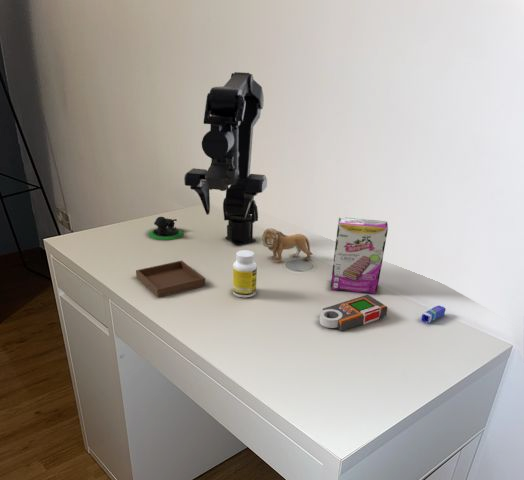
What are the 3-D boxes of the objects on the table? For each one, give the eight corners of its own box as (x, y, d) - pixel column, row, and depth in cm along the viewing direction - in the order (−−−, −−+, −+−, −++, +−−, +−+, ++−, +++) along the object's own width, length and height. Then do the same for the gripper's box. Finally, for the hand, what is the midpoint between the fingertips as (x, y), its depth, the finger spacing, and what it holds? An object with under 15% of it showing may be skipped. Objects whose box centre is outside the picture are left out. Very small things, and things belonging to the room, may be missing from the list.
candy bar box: (329, 290, 128) (337, 223, 119) (330, 281, 132) (337, 216, 123) (377, 295, 127) (388, 227, 118) (377, 286, 131) (387, 220, 122)
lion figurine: (265, 266, 138) (267, 233, 134) (257, 259, 143) (258, 226, 138) (316, 259, 144) (319, 226, 139) (307, 252, 148) (310, 220, 143)
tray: (182, 267, 136) (181, 260, 135) (205, 285, 128) (205, 278, 127) (136, 277, 130) (135, 270, 129) (157, 297, 122) (157, 289, 121)
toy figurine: (188, 229, 160) (187, 210, 156) (176, 241, 151) (175, 221, 148) (156, 226, 161) (155, 207, 158) (142, 237, 153) (140, 217, 150)
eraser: (420, 320, 117) (422, 312, 116) (436, 312, 120) (438, 304, 119) (427, 324, 115) (429, 316, 114) (444, 316, 119) (446, 308, 118)
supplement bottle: (255, 298, 123) (256, 258, 118) (231, 297, 123) (231, 257, 118) (256, 288, 128) (257, 249, 122) (233, 287, 128) (233, 248, 122)
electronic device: (313, 310, 114) (369, 292, 120) (313, 322, 116) (367, 304, 122) (332, 324, 109) (389, 305, 115) (331, 336, 111) (387, 317, 117)
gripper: (173, 153, 118) (177, 222, 126) (256, 160, 115) (255, 231, 123) (191, 143, 127) (193, 208, 136) (268, 149, 124) (266, 216, 132)
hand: (226, 216), depth 131 cm, fingers open, 9 cm apart
